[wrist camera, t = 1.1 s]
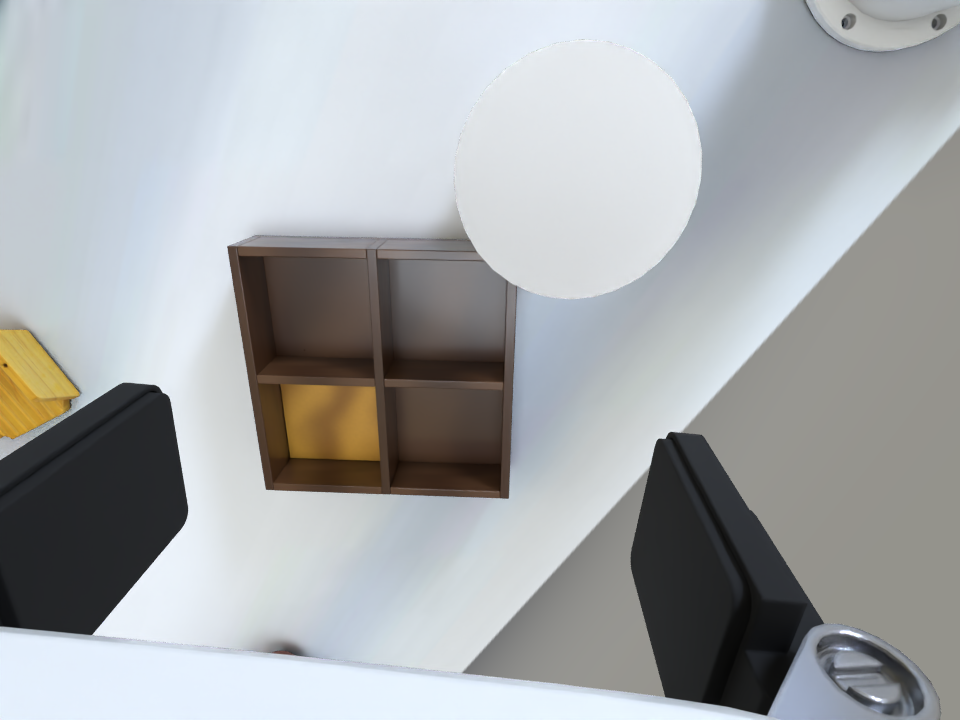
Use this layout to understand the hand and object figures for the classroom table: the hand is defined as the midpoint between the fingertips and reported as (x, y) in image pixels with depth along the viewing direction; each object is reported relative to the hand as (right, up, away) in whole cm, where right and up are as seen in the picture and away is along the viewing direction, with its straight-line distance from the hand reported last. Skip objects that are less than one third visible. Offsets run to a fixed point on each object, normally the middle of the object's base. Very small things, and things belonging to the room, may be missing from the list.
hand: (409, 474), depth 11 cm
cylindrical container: (+5, +17, +29) cm, 34 cm away
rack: (-6, +2, +35) cm, 36 cm away
